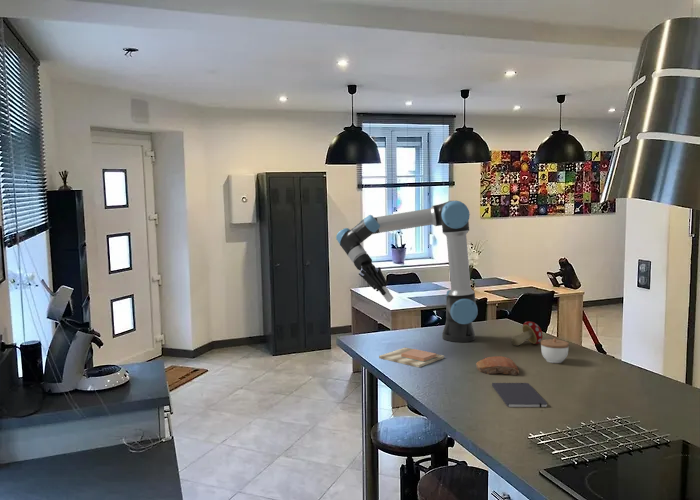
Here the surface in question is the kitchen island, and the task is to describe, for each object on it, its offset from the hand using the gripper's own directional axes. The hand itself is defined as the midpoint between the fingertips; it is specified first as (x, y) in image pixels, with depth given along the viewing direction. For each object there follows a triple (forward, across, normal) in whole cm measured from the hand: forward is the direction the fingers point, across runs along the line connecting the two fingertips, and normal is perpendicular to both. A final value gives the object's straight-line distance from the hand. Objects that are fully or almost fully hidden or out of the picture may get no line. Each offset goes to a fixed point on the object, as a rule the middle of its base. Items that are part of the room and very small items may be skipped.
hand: (390, 300), depth 248 cm
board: (+24, 0, -9) cm, 25 cm away
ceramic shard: (+48, -8, +14) cm, 51 cm away
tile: (+25, 0, -5) cm, 26 cm away
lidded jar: (+57, -34, +23) cm, 70 cm away
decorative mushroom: (+42, -52, +8) cm, 68 cm away
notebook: (+63, +14, +29) cm, 71 cm away
